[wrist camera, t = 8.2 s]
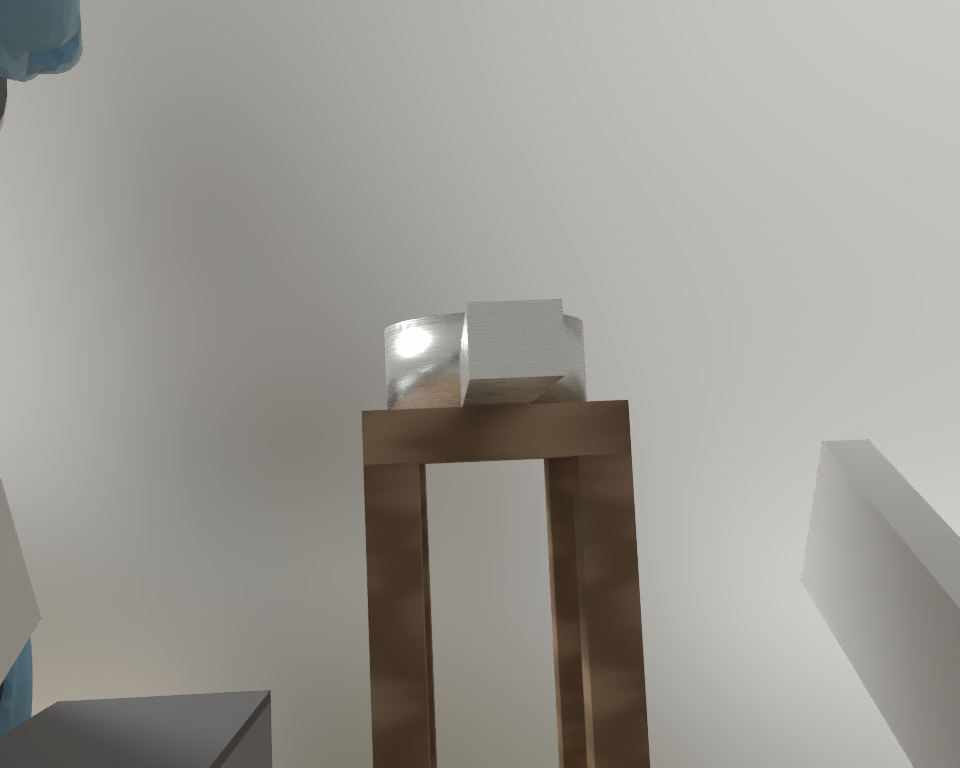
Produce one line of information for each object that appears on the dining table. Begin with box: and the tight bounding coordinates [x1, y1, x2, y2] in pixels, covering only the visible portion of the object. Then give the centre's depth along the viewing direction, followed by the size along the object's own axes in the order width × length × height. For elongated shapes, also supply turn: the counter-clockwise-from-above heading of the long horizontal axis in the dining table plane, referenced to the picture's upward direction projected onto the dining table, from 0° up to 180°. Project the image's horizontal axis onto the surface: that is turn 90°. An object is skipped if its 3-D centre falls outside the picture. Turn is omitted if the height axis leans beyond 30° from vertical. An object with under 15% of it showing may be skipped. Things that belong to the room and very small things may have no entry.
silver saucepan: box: [384, 299, 587, 410], centre depth 34 cm, size 9×22×4 cm, turn 2°
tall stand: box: [362, 400, 650, 768], centre depth 38 cm, size 10×12×30 cm
